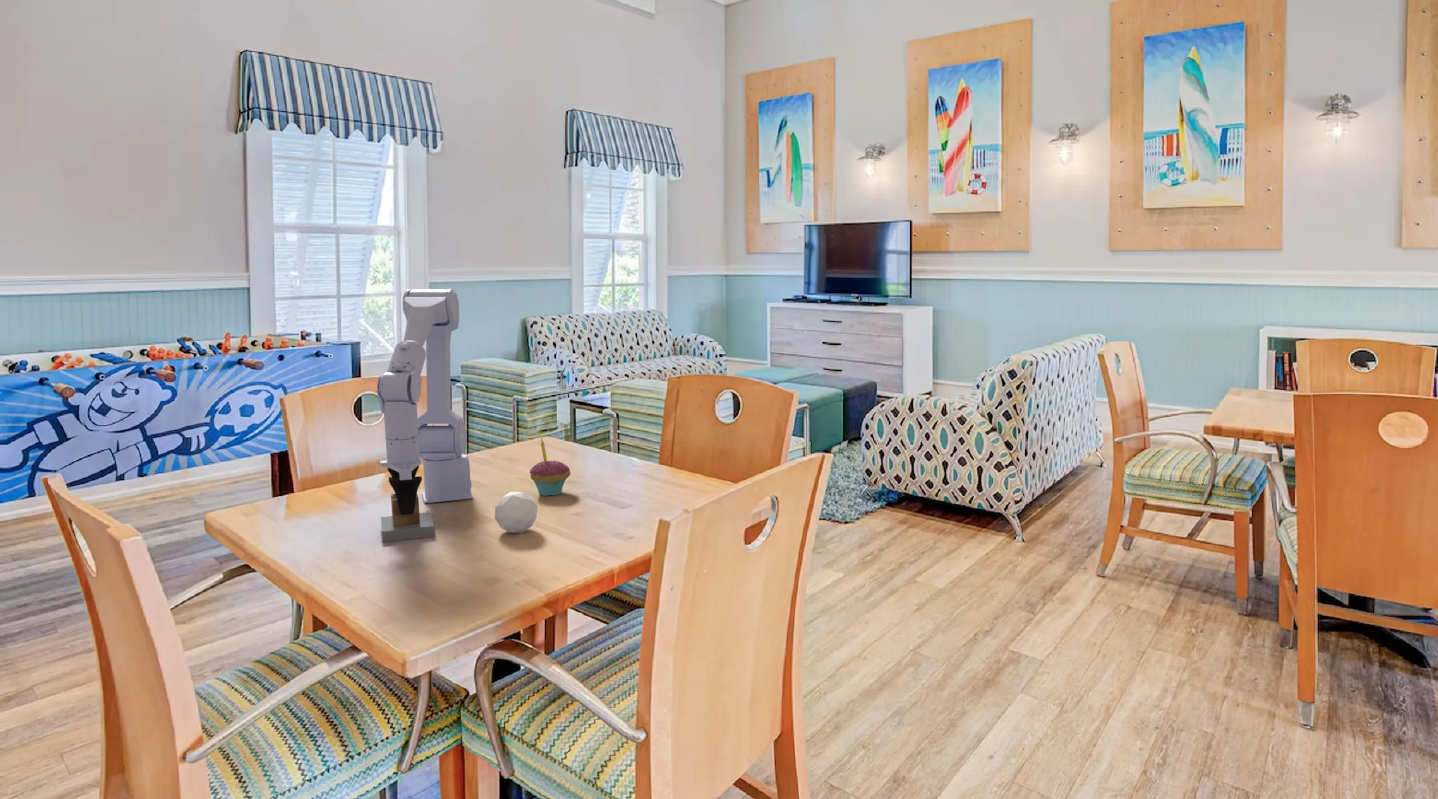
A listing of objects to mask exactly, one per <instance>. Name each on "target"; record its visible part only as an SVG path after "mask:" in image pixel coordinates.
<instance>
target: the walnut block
mask: <svg viewBox="0 0 1438 799" xmlns="http://www.w3.org/2000/svg"><path fill="white" fill-rule="evenodd" d="M419 500H420V499H419V495H418V493H417V494H416V501H415V509H414V513H413V514H407V515H401V512H400V509H399V505H398V501H397V497H396V494H395V493H390V501H391V502H390V503H391V516H392V520H393V524H394V527H397V526H405V525H414V524H420V515H419V513H420V503H419Z"/></svg>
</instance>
